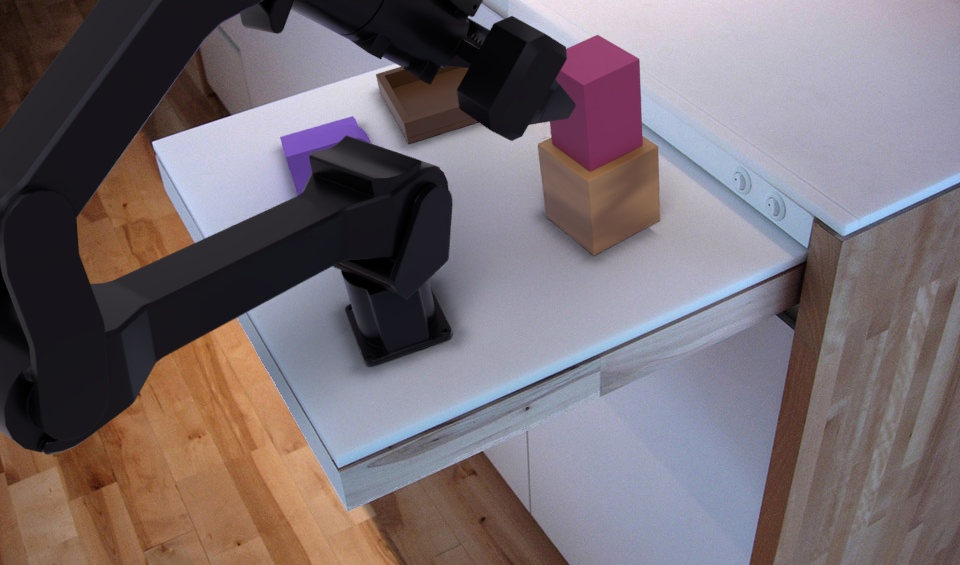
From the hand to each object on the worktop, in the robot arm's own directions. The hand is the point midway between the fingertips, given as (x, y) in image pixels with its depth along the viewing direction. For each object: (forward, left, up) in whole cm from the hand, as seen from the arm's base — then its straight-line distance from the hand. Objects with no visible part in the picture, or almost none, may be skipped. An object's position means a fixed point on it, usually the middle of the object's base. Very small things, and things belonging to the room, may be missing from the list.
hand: (529, 85), depth 70 cm
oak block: (0, -5, -14) cm, 15 cm away
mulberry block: (0, -5, -7) cm, 8 cm away
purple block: (+17, +13, -14) cm, 26 cm away
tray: (+23, -1, -14) cm, 27 cm away
